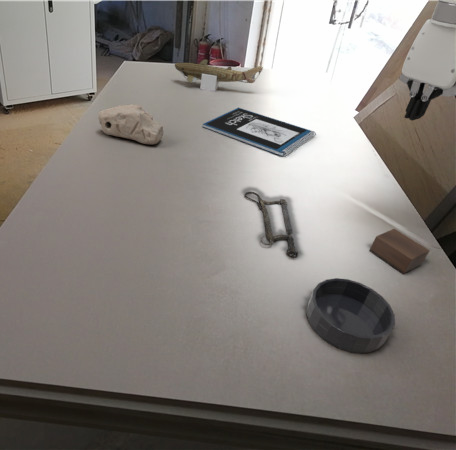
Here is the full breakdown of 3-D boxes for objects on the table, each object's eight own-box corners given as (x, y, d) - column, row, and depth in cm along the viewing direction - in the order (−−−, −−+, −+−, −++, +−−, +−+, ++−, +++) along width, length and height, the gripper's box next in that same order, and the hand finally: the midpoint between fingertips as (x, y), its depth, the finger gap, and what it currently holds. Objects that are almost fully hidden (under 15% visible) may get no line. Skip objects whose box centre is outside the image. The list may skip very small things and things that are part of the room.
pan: (339, 284, 77) (346, 269, 75) (401, 333, 69) (411, 318, 66) (290, 309, 72) (296, 294, 69) (351, 366, 63) (360, 350, 61)
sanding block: (386, 242, 88) (394, 228, 86) (421, 265, 83) (430, 250, 81) (369, 250, 86) (376, 236, 83) (403, 274, 80) (411, 259, 78)
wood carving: (255, 99, 157) (261, 69, 150) (170, 85, 165) (172, 57, 159) (259, 92, 163) (264, 63, 157) (176, 79, 172) (178, 51, 165)
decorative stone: (95, 135, 125) (94, 104, 119) (107, 126, 131) (106, 96, 125) (155, 149, 119) (157, 117, 113) (165, 139, 125) (167, 108, 119)
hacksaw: (298, 260, 82) (299, 254, 82) (247, 254, 83) (248, 248, 83) (285, 196, 102) (286, 191, 101) (243, 192, 102) (245, 187, 102)
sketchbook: (237, 111, 147) (238, 105, 145) (315, 137, 131) (317, 131, 130) (202, 127, 133) (203, 121, 132) (284, 158, 118) (286, 152, 117)
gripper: (517, 22, 65) (460, 129, 76) (428, 6, 75) (390, 102, 87) (493, 25, 62) (438, 136, 73) (404, 8, 72) (367, 108, 83)
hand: (412, 117), depth 80 cm, fingers closed
